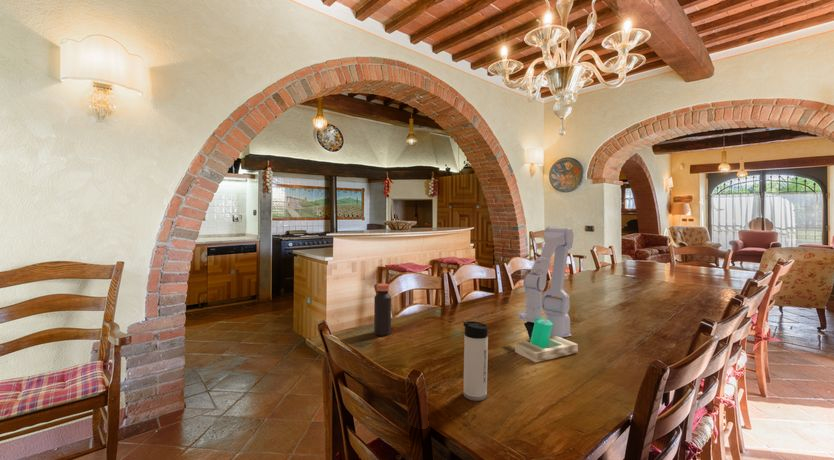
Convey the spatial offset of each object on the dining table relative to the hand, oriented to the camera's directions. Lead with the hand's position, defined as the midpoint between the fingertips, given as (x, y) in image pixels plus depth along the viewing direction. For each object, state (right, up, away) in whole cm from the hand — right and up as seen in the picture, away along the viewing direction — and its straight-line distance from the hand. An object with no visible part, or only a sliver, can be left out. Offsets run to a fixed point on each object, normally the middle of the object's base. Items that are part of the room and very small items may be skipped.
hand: (532, 342), depth 134 cm
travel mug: (-28, -3, -36) cm, 46 cm away
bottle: (-57, -1, +13) cm, 59 cm away
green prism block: (+1, -1, -3) cm, 3 cm away
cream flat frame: (+3, -2, -6) cm, 7 cm away
